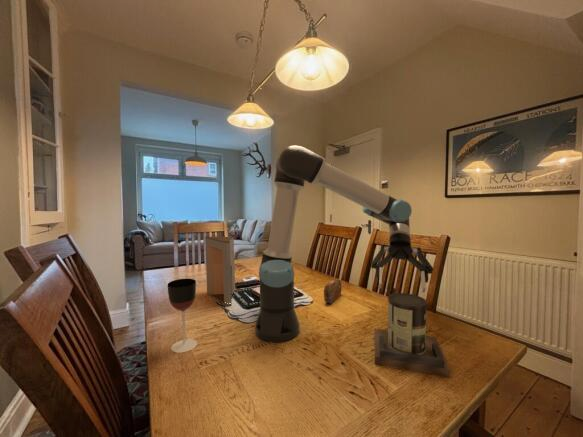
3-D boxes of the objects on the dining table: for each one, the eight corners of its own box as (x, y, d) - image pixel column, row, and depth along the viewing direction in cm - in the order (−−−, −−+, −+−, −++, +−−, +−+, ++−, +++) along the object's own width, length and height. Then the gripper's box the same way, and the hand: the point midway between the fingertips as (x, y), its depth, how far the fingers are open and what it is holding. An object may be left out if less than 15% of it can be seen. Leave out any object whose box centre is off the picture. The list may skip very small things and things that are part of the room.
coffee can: (420, 338, 79) (421, 293, 78) (430, 358, 69) (432, 307, 68) (385, 335, 81) (385, 291, 80) (390, 354, 71) (391, 304, 70)
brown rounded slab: (329, 306, 108) (329, 287, 108) (322, 305, 110) (322, 285, 109) (342, 295, 121) (342, 277, 121) (335, 293, 123) (335, 276, 122)
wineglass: (171, 356, 74) (168, 289, 73) (169, 342, 82) (167, 280, 81) (199, 349, 78) (197, 284, 77) (196, 335, 86) (193, 277, 84)
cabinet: (207, 293, 124) (205, 236, 122) (225, 289, 131) (223, 234, 129) (228, 306, 109) (226, 241, 107) (247, 300, 115) (246, 239, 113)
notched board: (374, 363, 70) (374, 349, 70) (374, 334, 85) (374, 322, 85) (449, 377, 65) (450, 361, 64) (435, 343, 80) (435, 330, 80)
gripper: (434, 245, 98) (441, 297, 85) (366, 241, 106) (363, 288, 93) (437, 233, 93) (446, 287, 80) (366, 230, 101) (363, 278, 87)
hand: (401, 288), depth 86 cm, fingers open, 13 cm apart
